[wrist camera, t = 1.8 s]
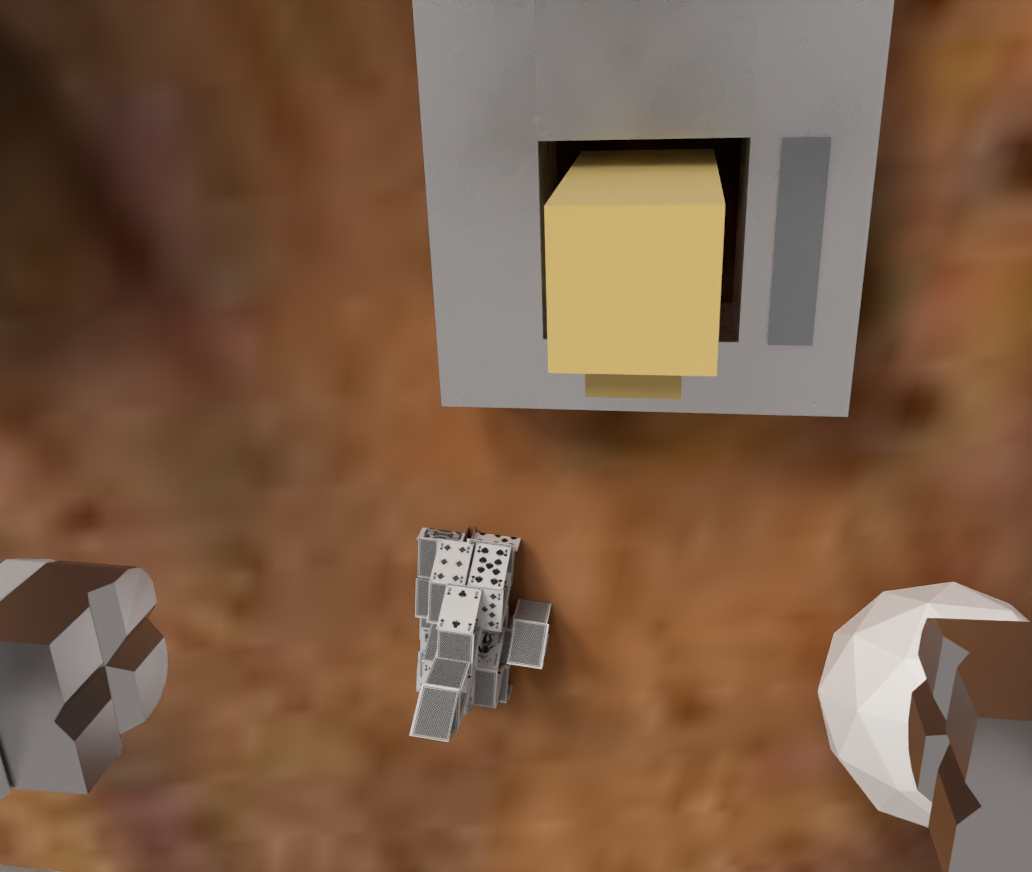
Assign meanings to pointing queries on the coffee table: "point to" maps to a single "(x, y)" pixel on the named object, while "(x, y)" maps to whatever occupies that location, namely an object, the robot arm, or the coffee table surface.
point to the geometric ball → (889, 687)
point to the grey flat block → (653, 115)
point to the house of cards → (469, 628)
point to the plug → (635, 270)
